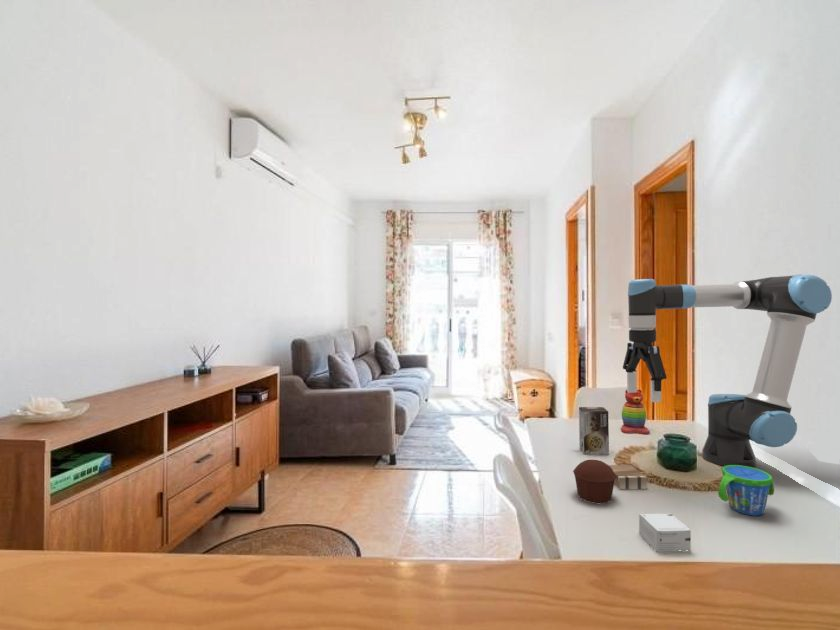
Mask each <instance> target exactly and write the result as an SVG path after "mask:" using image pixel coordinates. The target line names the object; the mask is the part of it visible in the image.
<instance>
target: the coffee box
mask: <svg viewBox="0 0 840 630" xmlns="http://www.w3.org/2000/svg"><path fill="white" fill-rule="evenodd" d="M578 422H579V424H578V426H579V427H578V429H579V430H578V431H579V436H578V437H579V440H578V441H579V444H578V445H579V450H580V451H581V453H582V452H583V453H582V454H583V455H610V435H609V433H610V431H609V411H608V410H607V409H606V408H605V407H603V406H579V407H578Z"/></svg>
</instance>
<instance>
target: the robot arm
mask: <svg viewBox="0 0 840 630" xmlns="http://www.w3.org/2000/svg"><path fill="white" fill-rule="evenodd" d="M627 288H628V289H627V290H628V291H627V296H628V328H629V330H628V341H629V342H627V344H626V345H627V348H626V349H627V350H626V354H625V357H624V361H623V365H622V370H625V372H626V384H627V385H626V390H627V392H628V393H633V392H637V390H638V389H637V367H638V365H639V363H640V362H641V361H640V360H642V361H643V362H644V363H645V366H646V367H647V370H648V372H649V374H650V379H649V380H650V402H651V403H662V381H663V380H666V379H667V374H666V370H665V367H664V364H663V363H664V362H663V360H662V356H661V354H660V352H661V351H660V350H661V349H660V345H658V346H656V345H654V346H653V343H655V342H656V341H657V330H656V328H657V324H656V323H657V322H656V321H657V318H656V317H657V310H678V309H679V310H683V309H691V308H718V307H719V308H721V307H723V308H724V307H727V308H728V307H729V308H730V307H733V308H734V309H737V310H750V311H751V310H753V311H761V312H762V311H763V312H766V316H767V317H768V318H769V319H770V324H769V328H768V332H767V334H766V335H767V336H766V339H765V342H764V346H763V351H762V354H761V358H760V362H759V366H758V369H757V372H756V377H755V380H754V383H753V384H754V385H753V389H752V391H751V392H750V393H747V394H739V393H738V394H736V393H735V394H734V393H714V394H711V395H710V396H708V402H707V403H708V404H707V406H708V409H707V411H708V415H707V418H708V419H707V422H708V425H707V427H708V430H707V431H708V433H707V437H706V440H705V443H704V444H703V447H702V452H701V453H702V454H701V455H702V458H703V459H704V460H706V461H708V462H710V463H713V464H716V465H718V466H719V465H720V466H723V467H724V466H727V465H741V466H748V467H752V468H755V467H756V465H757V463H756V461H757V458H756V455H755V453H754V450H753V448H752V444H751V442H750V441H752V442H754V443H756V444H758V445H761V446H766V447H771V448H779V447H783V446H784V445H786V444H787V445H788V443H790V442H791V441H793V439H794V438H795V436H796V433H797V431H798V424H797V421H796V419H795V418H794V416H793V415H791V412H792V406H791V405H790V403H789V402H788V398H789V393H790V390H791V386H792V382H793V379H794V375H795V370H796V367H797V363H798V360H799V355H800V352H801V348H802V345H803V340H804V336H805V333H806V329H807V326H808V325H810V324H812V323H814V322H815V320H816V317H817V314H820V313H822V312H825V310H827V309H828V308H829V307H830V305H831V303H832V299H833V297H832V290H831V288H830V286H829V285H828V284H827V282H826V281H825V280H824V279H823V278H821V277H820V276H817V275H813V274H802V273H801V274H795V275H794V274H793V275H784V276H781V275H780V276H772V277H771V276H769V277H763V278H758V279H752V280H751V279H750V280H739V281H735V282H734V283H732V284H701V285H698V284H697V285H696V284H695V285H694V284H693V285H690V284H682V283H681V284H664V285H658V284H657V283H656V280H655V279H653V278H642V279H631V280H630V281H629V283H628V286H627Z"/></svg>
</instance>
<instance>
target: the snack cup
mask: <svg viewBox="0 0 840 630" xmlns="http://www.w3.org/2000/svg"><path fill="white" fill-rule="evenodd" d="M721 473H722V476H723V477H722V478H721V481H720V483H719V488H718V491H717V495H718V497H719V500H722V501H724V502H728V504H729V506H730V507H731V509H732V510H734V511H735V512H738V513H741V514H744V515H749V516H754V517H755V516H761V515H764V513H765V511H766V507H767V501H768V497H769V496H773V495H774V493H775V486H774V480H773V477H772V475H771V474H769V473H768V472H766V471H765V470H762V469H759V468H757V467H756V468H755V467H748V466H741V465H727V466H723V467H722V468H721Z"/></svg>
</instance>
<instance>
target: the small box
mask: <svg viewBox="0 0 840 630" xmlns="http://www.w3.org/2000/svg"><path fill="white" fill-rule="evenodd" d="M638 518H639V519H638V534H639V535H640V536H641V538H642V539H643V540H644V541H645V542H646V543H647V542H648V545H649V544H650V545H651V546H650V545H649V546H650V547H651V548H652V547H653V548H654V549H655V550H656V551H657V552H656V551H655V550H654V549H653V548H652V549H653V550H654V551H655V552H656V553H661V552H663V553H664V552H665V551H677V552H681V551H686V550H688V551H690V552H691V550H692V549H691V547H692V546H691V544H692V543H691V538H692V536H691V533H692V532H691V531H692V530H691V529H690V528H689V527H688V526H687V525H686V524H684V523H683V522H681V521H680V520H679V519H678V518H677V517H676V516H675V515H673V513H646V514H645V513H641V514H638ZM679 550H681V551H679ZM665 553H666V552H665Z"/></svg>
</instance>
